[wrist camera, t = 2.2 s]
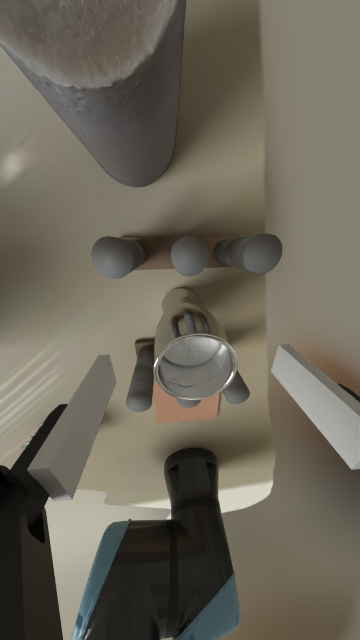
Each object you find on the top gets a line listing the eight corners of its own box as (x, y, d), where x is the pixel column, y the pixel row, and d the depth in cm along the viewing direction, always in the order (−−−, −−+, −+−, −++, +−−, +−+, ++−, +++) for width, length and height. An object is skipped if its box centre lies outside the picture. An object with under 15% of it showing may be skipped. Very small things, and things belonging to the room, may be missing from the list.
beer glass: (175, 275, 24) (187, 312, 10) (210, 300, 26) (259, 359, 12) (151, 311, 26) (133, 382, 12) (185, 332, 28) (202, 412, 14)
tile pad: (216, 415, 38) (216, 417, 37) (157, 420, 37) (157, 423, 36) (221, 369, 32) (222, 372, 31) (151, 374, 31) (151, 376, 31)
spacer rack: (223, 353, 30) (250, 405, 20) (138, 358, 29) (124, 415, 19) (236, 236, 22) (294, 225, 12) (119, 238, 21) (77, 228, 11)
